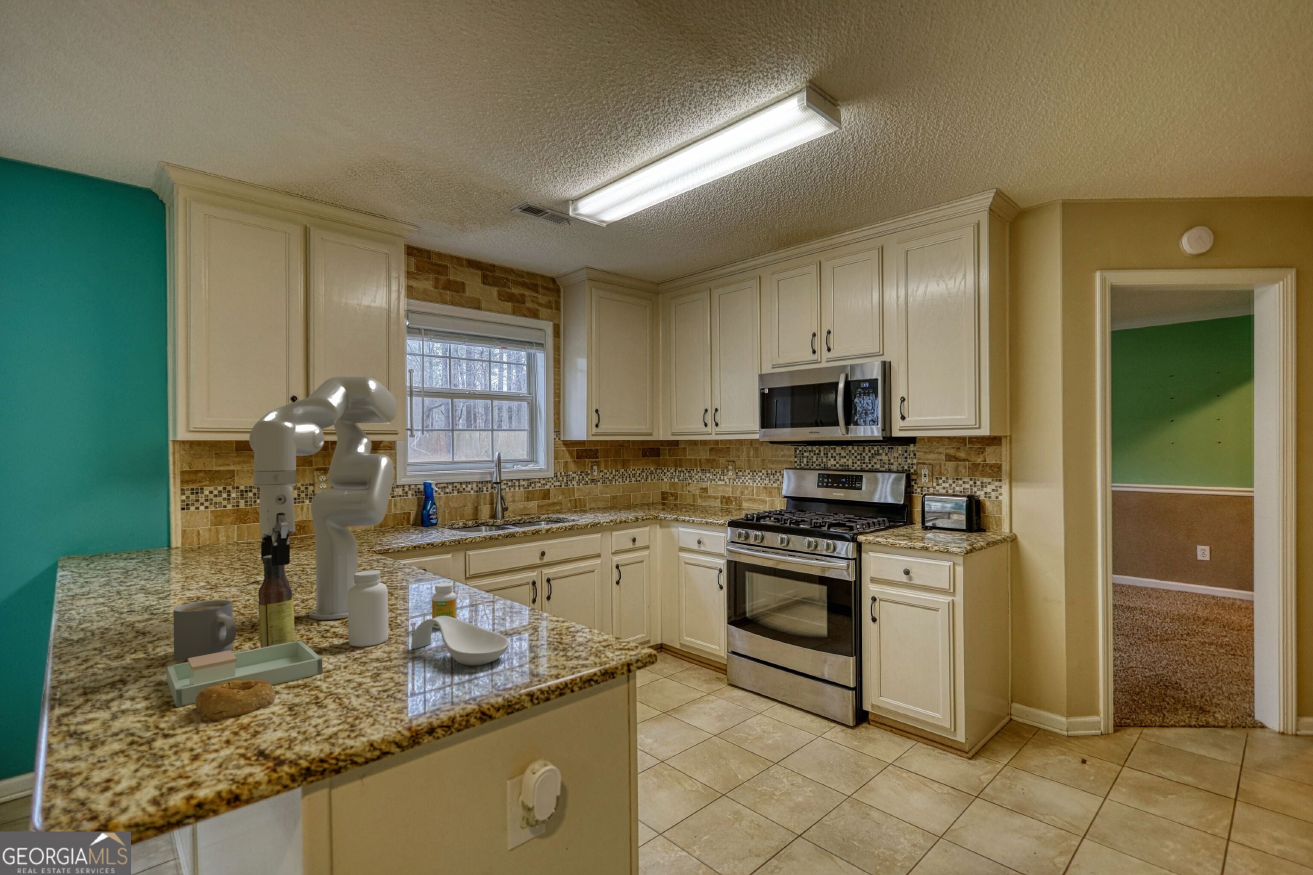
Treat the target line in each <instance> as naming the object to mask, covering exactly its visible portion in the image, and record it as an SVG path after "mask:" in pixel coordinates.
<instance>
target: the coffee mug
mask: <svg viewBox="0 0 1313 875" xmlns="http://www.w3.org/2000/svg"><path fill="white" fill-rule="evenodd" d="M233 605H234V604H233V601H232V600H230V599H229V600H228V599H211V600H201V601H194V602H190V603H186V604H182V605H179V606H176V607H174V609H173V661H175V662H183V661H188V658H192V657H197V656H202V655H208V654H213V653H218V652H223V651H229V650H231V651H232V652H233V650H234V641H235V640H236V637H237V625H236V622H235V619H234V614H233V612H234V611H233V610H234V609H233V608H234V607H233Z"/></svg>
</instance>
